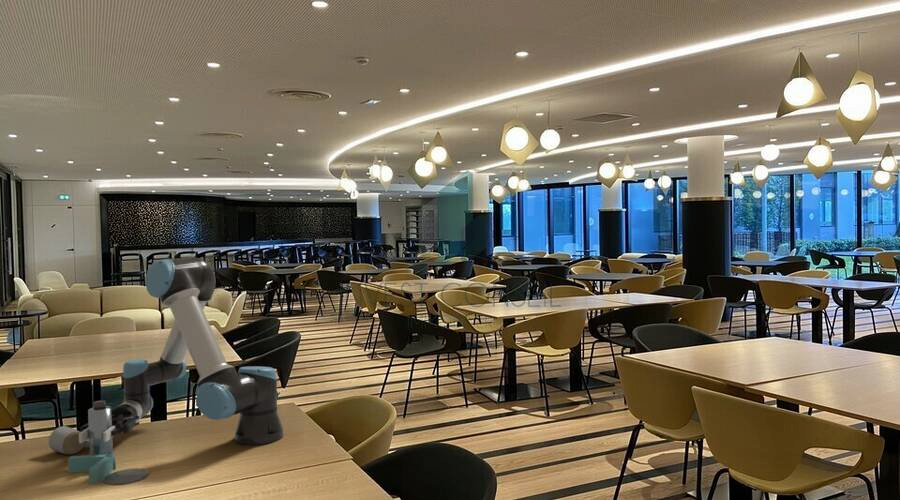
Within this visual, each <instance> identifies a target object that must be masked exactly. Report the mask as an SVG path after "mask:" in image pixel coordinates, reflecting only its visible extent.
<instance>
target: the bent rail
mask: <svg viewBox="0 0 900 500" xmlns="http://www.w3.org/2000/svg"><path fill="white" fill-rule="evenodd" d="M116 461H117V459H116V453H113V454H105V455H90V454H89V455H87V454H86V455H71V456H69V457H68V458H67V464H68V467H67V468H68V469H67V470H68V473H86V472H88V477H89V478H88V480H89V482H88V483H89V484H88V485H98V484H99V483H100V482H101V481H102V480H104V478H105V477H106V476H107V475H109V474H111V473H113V471H115V470H116V468H117V462H116Z"/></svg>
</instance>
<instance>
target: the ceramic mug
mask: <svg viewBox="0 0 900 500" xmlns="http://www.w3.org/2000/svg"><path fill="white" fill-rule="evenodd" d="M79 433H81V431H79V430H77V429H75V428H72V427H69V426H66V425H63V426H59V427H57V428H55V429H54V430H53V431H52V432H51V433H50V435H49V437H48V445H49V448H50V449H51V450H52V451H53V452H57V453H60V454H63V455H64V454H65V455H69V456H70V455H71V456H73V455H75V454H78V453H80V452H81V450H82V449H83V448H86V449H87V448H88V449H89V440H88V441H87V440H86V441H84V442H83V443H79Z"/></svg>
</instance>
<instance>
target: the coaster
mask: <svg viewBox="0 0 900 500" xmlns="http://www.w3.org/2000/svg"><path fill="white" fill-rule="evenodd" d="M148 476H149V470H148V469H145V468H136V467H135V468H127V469H122V470H121V469H120V470H117V471H114V472H110V473H109V474H108V475H107V476H106V477H105V478H103V482H104V483H105V484H106V485H111V486H116V485H118V486H119V485H120V486H121V485H128V484H131V483H136V482H140V481H141V480H143V479H146V478H147V477H148Z"/></svg>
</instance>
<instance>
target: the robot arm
mask: <svg viewBox="0 0 900 500" xmlns="http://www.w3.org/2000/svg"><path fill="white" fill-rule="evenodd" d="M145 275H146V276H145V288H146V291H147V292H148V294H149V295H150V296H152V297H153V298H157V299H159V300H160V302H161V304H162V306H163V307H165V308H168V309H170V311H171V313H172V316H173V318H174V321H173V324H172V326H171V329H170V331H169V334H168V337H167V338H166V339H167V340H166V341H165V345H164V346H163V347H164V348H163V349H162V352H161V355H160V357H159V360H158V361H153V362H149V363H148V360H147V359H144V358H143V359H142V358H137V359H130V360H126V361H125V362H124V364H123V370H122V377H123V378H122V379H123V402H122V403H121V404H118V405H117V406H116V407H115V408H113V409H111V413H112V427H111V428H109V429H108V430H106V431H105V432H103V439H104V442H107V441H108V440H110V439H111V438H112V439H113V438H114V437H116V436H117V435H121V434H122V433H123V434H128V433H130V431H131V430H133V429H134V428H135V427H136V426H138V425H140V419H142V418H143V417H146V416H147V415H148V413H150V412H151V410H152V409H153V407H154V399H153V397H152V395H150V386H154V385H157V384H162V383H165V382H170V381H175V380H177V379H180V378H183V377H184V376H185V375H186V373H187V371H188V369H187V367H188V366H187V362H186V361H185V357H186V354H187V353H188V352H189V354H190V357H191V359H192V362H193V363H194V366H195V367H196V370H197V373H198V375H199V378H198V380H197V387H198V388H197V390H196V391H195V392H196V393H195V396H196V397H195V403H196V406H197V408H198V410H199V411H200V413H201V414H202V416H204V417H205V418H208V419H210V420H214V421H218V420H223V419H229V418H230V417H232V416H235V415H238V414H239V419H238V422H237V425H236V428H235V432H234V441H235V442H236V443H238V444H240V445H249V446H250V445H252V446H255V445H265V444H270V443H273V442H277V441H278V440H281V439H282V438H283V437H284V426H283V425H282V421H281V418H280V416H279V413H278V385H277V384H278V383H277V382H278V378H277V371H276V370H275V368H273V367H271V366H262V365H261V366H260V365H259V366H254V365H253V366H249V365H248V366H241V367H239V368H238V372H237V369H236V368H235V366H234V365H231V364H228V362H227V361H226V358H225V356H224V354H223V351H222V349H221V347H220V345H219V343H218V340H217V338H216V336H215V334H214V331H213V329H212V327H211V324H210V322H209V320H208V318H207V315H206V314H205V311H204V309H205V306H206V305H207V302H209V301H211V300H212V297H213V295H214V292H215V288H216V274H215V271H214V269H213V267H212V266H211V265H210V264H209V263H208V261H205V260H204V259H202V258H198V257H185V258H163V259H158V260H156V261H153V262H152V264H150V266H149V267H148V269H147V271H146V274H145ZM80 432H81V433H79V443H83V442H84V441H87V440H89V423H88V422H87V423H85V424H83V425H81V426H80Z"/></svg>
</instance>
